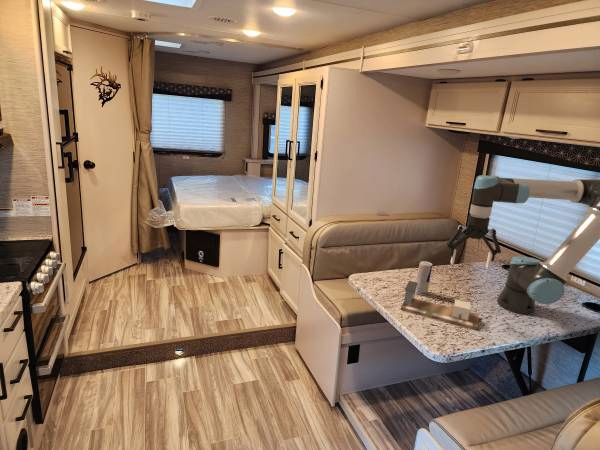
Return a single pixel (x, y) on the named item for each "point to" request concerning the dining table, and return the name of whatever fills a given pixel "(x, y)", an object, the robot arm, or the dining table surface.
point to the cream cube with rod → (461, 310)
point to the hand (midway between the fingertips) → (469, 266)
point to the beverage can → (423, 277)
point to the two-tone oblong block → (410, 293)
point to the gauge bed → (440, 313)
